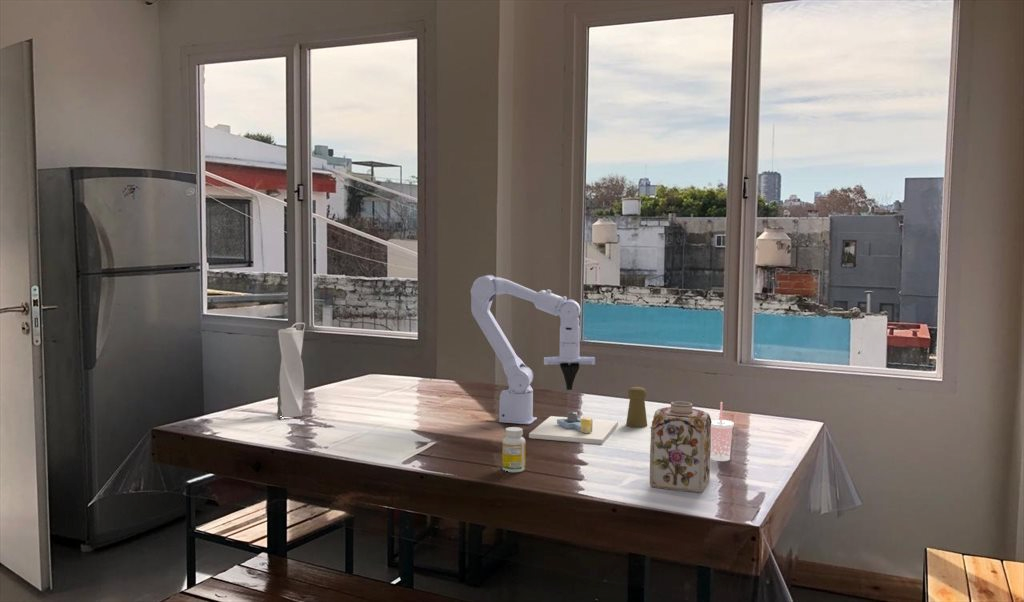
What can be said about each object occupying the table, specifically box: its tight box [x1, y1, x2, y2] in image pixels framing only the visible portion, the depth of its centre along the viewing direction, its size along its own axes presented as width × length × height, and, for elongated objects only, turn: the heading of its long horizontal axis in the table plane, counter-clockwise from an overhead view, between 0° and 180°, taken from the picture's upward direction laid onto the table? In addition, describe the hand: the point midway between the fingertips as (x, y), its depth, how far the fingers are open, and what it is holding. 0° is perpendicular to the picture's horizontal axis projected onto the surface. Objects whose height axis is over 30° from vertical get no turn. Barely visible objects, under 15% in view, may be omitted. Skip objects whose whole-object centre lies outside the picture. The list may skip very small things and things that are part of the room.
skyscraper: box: [276, 321, 306, 419], centre depth 244 cm, size 8×8×28 cm
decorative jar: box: [649, 400, 712, 494], centre depth 182 cm, size 12×12×18 cm
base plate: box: [528, 415, 619, 445], centre depth 228 cm, size 20×22×1 cm
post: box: [566, 411, 579, 423], centre depth 229 cm, size 3×3×5 cm
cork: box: [625, 386, 648, 429], centre depth 236 cm, size 6×6×11 cm
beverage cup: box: [710, 401, 735, 462], centre depth 201 cm, size 6×6×14 cm
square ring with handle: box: [557, 417, 592, 433], centre depth 227 cm, size 13×6×3 cm, turn 23°
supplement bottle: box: [501, 426, 526, 473], centre depth 192 cm, size 5×5×10 cm
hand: (569, 389), depth 237 cm, fingers closed
